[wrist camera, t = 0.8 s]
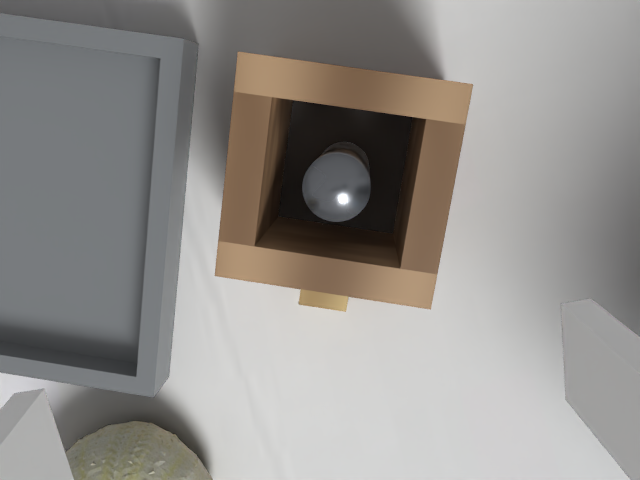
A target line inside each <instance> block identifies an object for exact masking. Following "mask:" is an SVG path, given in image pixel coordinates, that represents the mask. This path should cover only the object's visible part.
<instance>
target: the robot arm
mask: <svg viewBox="0 0 640 480" xmlns="http://www.w3.org/2000/svg"><path fill="white" fill-rule="evenodd" d="M561 319H562V339H563V359H564V378H565V398H566V401H567V402H568V403H569V404H570V406H571V407H572V408H573V409H574V411H575V412H576V413H577V414H578V416H579V417H580V418H581V419H582V421H583V422H584V423H585V424H586V425H587V427H588V428H589V429H590V430H591V432H592V433H593V434H594V435H595V437H596V438H597V439H598V440H599V441H600V443H601V444H602V445H603V446H604V448H605V449H606V450H607V451H608V453H609V454H610V455H611V456H612V457H613V459H614V460H615V461H616V462H617V464H618V465H619V466H620V467H621V469H622V470H623V471H624V472H625V474H626V475H627V476H628V477H629V478H630V480H640V337H639V336H638V335H637V334H635V333H634V332H633V331H632V330H630V329H629V328H628V327H627V326H625V325H624V324H623V323H621V322H620V321H619V320H618V319H616V318H615V317H614V316H613V315H611V314H610V313H609V312H607V311H606V310H605V309H604V308H602V307H601V306H600V305H599V304H597V303H596V302H595V301H594V300H592V299H585V300H579V301H573V302H567V303H561ZM0 480H74V478H73V475H72V472H71V469H70V466H69V463H68V460H67V457H66V454H65V451H64V448H63V444H62V441H61V438H60V435H59V432H58V429H57V426H56V423H55V420H54V417H53V414H52V411H51V408H50V405H49V402H48V398H47V395H46V392H45V389H38V390H32V391H26V392H20V393H14V394H13V396H12V397H11V398H10V399H9V400H8V401H7V403H6V404H5V405H4V406H3V407H2V408H1V410H0Z"/></svg>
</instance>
